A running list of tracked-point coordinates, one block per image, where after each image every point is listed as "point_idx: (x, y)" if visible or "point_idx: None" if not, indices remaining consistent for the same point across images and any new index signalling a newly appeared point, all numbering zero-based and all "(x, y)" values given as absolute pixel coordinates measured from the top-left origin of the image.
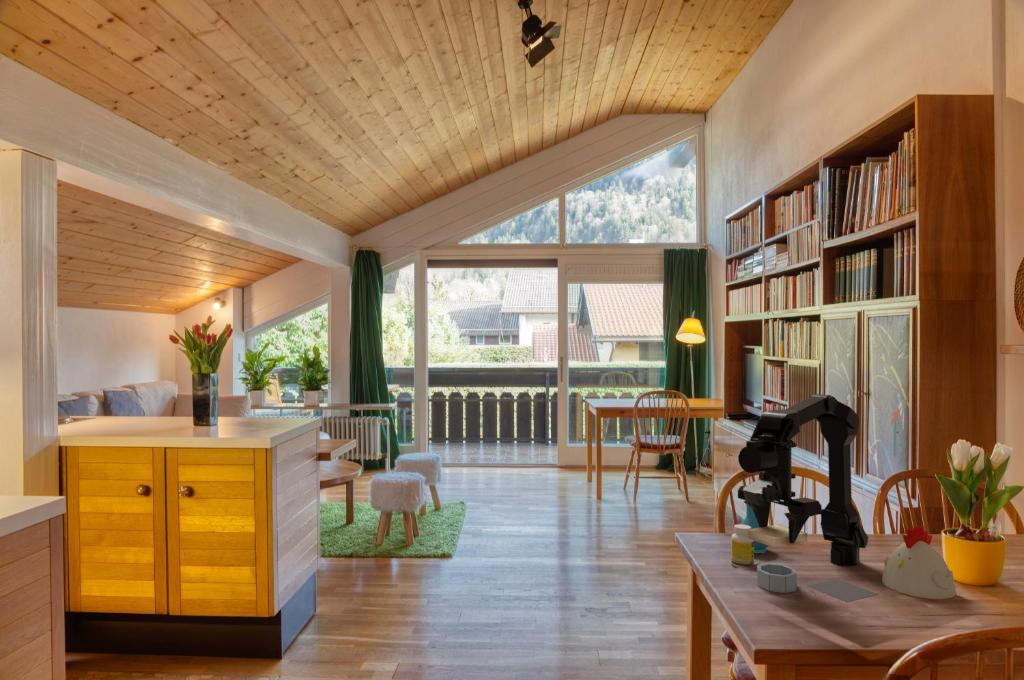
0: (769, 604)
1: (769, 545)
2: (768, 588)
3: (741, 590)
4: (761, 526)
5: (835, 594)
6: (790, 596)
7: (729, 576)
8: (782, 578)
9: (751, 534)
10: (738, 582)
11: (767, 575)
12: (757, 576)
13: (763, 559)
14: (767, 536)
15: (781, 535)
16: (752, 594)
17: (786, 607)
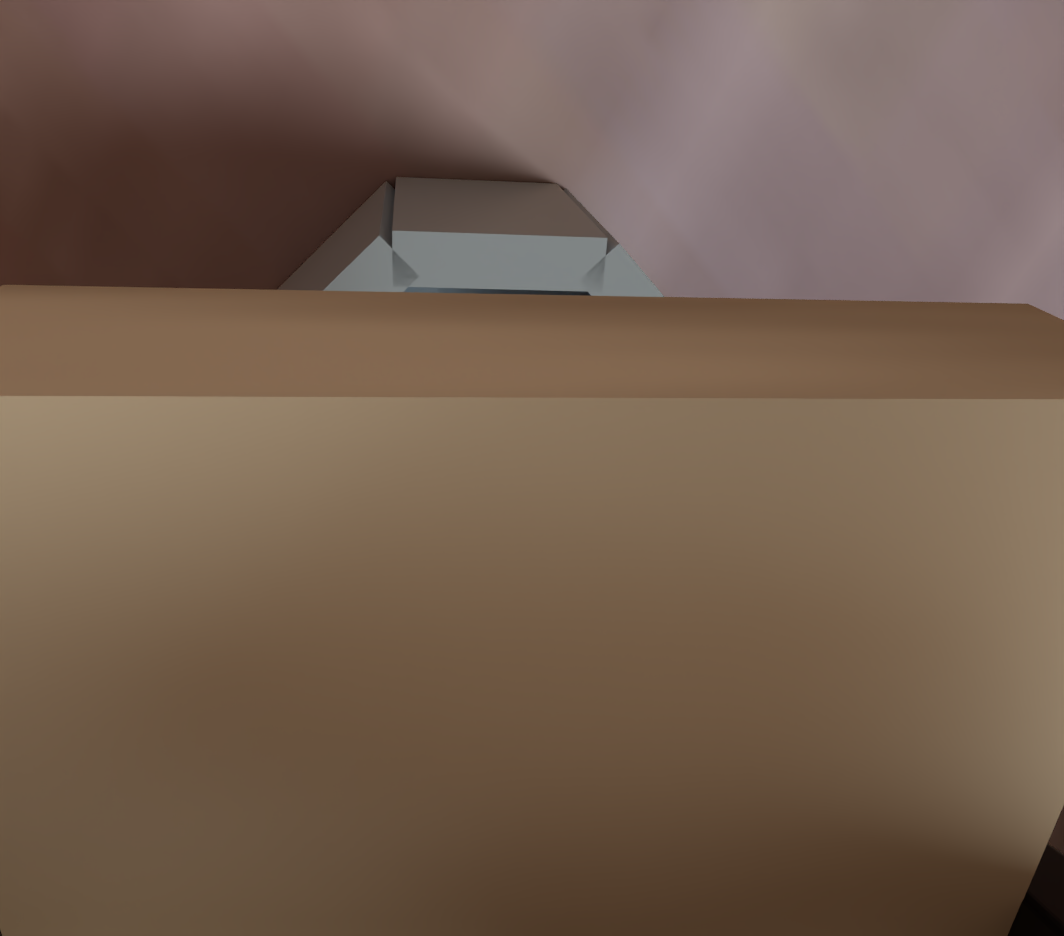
0: (235, 4)
1: (218, 294)
2: (397, 192)
3: (694, 57)
4: (1044, 913)
5: None
6: None
7: (1010, 274)
8: None
9: (992, 352)
10: (856, 226)
11: (416, 227)
12: (599, 225)
13: None
14: (262, 390)
15: (160, 860)
16: (548, 77)
17: (91, 121)
